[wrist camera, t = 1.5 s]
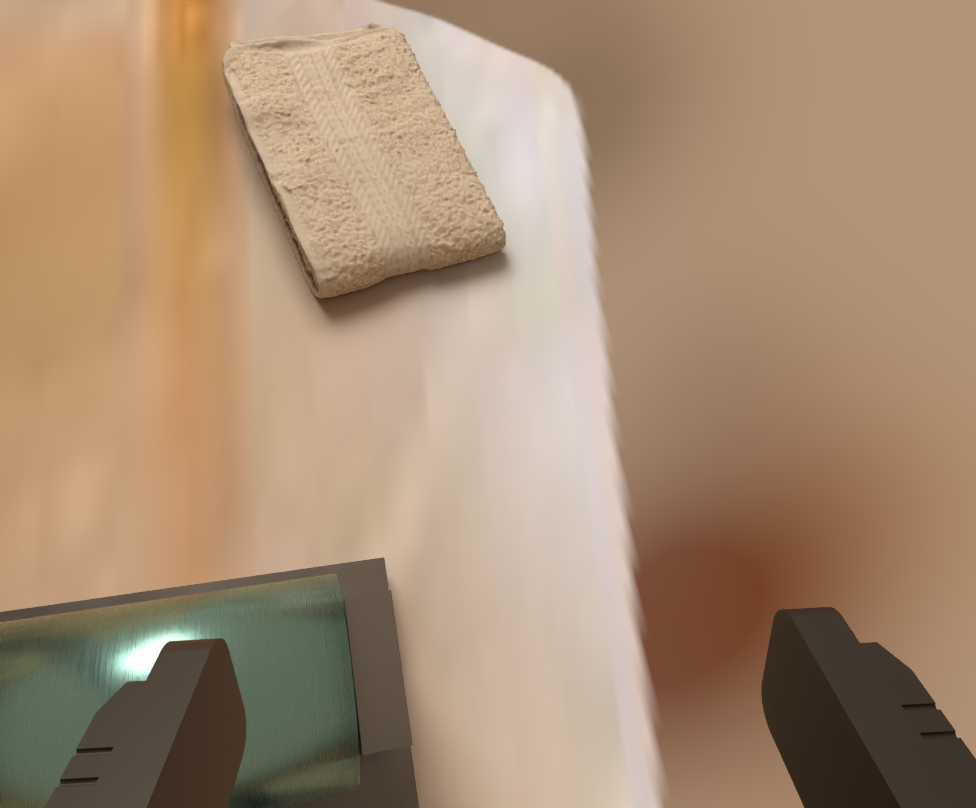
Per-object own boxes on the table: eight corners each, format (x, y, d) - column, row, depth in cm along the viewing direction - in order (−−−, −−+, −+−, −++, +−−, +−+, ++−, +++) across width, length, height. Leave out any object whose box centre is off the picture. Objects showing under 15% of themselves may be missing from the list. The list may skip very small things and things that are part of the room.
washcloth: (390, 46, 48) (395, 4, 46) (509, 260, 43) (524, 226, 40) (208, 72, 44) (202, 27, 41) (317, 313, 39) (318, 280, 36)
